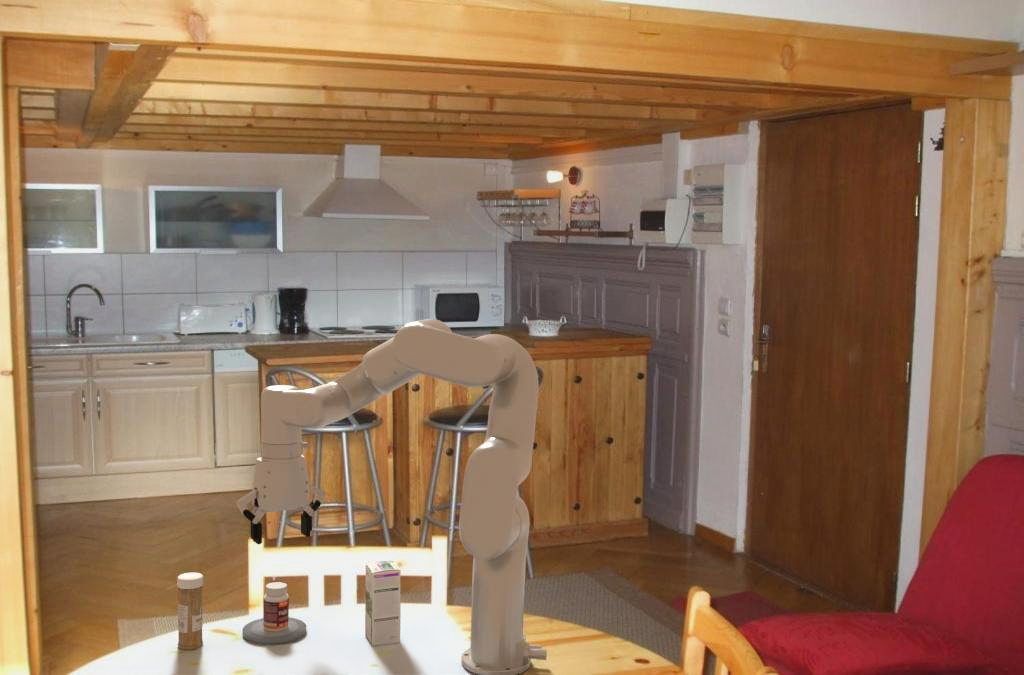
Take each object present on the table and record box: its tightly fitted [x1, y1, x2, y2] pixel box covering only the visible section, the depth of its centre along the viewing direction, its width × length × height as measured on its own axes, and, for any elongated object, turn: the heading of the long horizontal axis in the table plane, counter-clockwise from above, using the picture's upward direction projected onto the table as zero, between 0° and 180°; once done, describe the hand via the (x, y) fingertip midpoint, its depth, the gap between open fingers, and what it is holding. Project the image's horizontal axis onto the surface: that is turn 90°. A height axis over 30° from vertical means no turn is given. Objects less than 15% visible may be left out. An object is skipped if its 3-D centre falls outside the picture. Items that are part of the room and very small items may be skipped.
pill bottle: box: [262, 581, 290, 632], centre depth 199 cm, size 5×5×8 cm
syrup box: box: [364, 560, 401, 647], centre depth 197 cm, size 6×6×14 cm
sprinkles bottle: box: [176, 571, 204, 651], centre depth 191 cm, size 5×5×14 cm
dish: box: [242, 616, 307, 646], centre depth 199 cm, size 12×12×1 cm
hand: (281, 538), depth 198 cm, fingers open, 9 cm apart
